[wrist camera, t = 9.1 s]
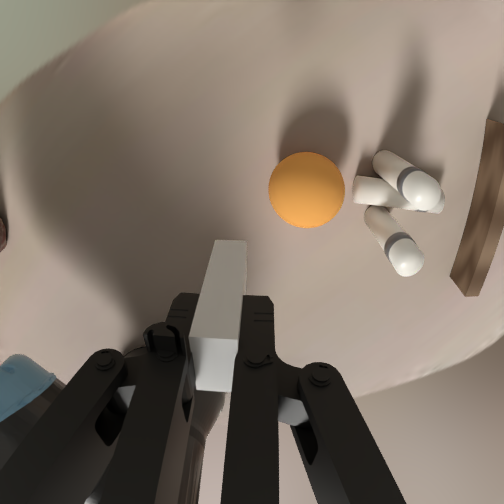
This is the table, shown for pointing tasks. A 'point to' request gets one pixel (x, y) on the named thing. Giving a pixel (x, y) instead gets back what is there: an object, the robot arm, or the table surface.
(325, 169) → the ball
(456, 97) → the table surface
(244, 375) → the robot arm
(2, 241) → the rusty brown cylinder
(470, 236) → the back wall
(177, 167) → the table surface
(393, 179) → the pin
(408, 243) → the pin
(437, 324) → the table surface
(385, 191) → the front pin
